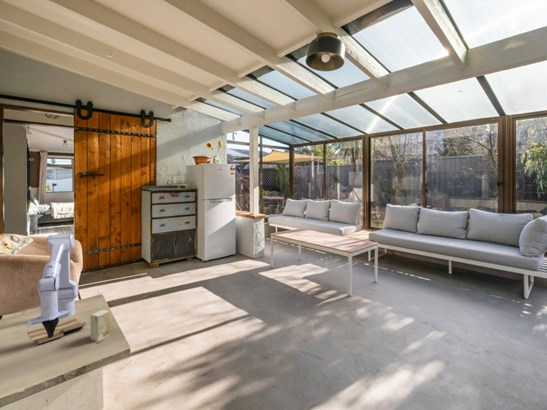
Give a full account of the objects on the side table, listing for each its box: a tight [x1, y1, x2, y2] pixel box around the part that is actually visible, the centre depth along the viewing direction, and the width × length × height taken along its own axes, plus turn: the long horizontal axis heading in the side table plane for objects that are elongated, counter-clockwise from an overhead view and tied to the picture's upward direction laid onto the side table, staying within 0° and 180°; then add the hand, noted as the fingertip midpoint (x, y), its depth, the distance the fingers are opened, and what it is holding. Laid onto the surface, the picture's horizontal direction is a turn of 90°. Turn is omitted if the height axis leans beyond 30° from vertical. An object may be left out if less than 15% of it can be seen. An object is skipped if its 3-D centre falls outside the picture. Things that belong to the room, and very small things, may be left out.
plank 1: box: [34, 332, 65, 345], centre depth 123 cm, size 7×8×1 cm
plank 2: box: [60, 321, 87, 334], centre depth 130 cm, size 7×8×1 cm
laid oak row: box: [26, 317, 81, 341], centre depth 132 cm, size 10×18×1 cm, turn 141°
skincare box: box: [90, 309, 111, 344], centre depth 125 cm, size 6×4×12 cm
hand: (50, 336), depth 122 cm, fingers closed, pressing on plank 1
